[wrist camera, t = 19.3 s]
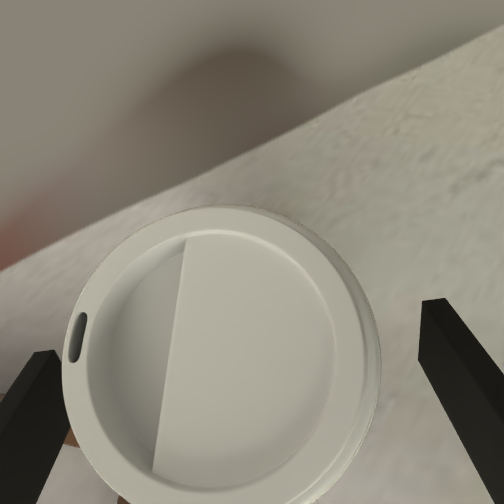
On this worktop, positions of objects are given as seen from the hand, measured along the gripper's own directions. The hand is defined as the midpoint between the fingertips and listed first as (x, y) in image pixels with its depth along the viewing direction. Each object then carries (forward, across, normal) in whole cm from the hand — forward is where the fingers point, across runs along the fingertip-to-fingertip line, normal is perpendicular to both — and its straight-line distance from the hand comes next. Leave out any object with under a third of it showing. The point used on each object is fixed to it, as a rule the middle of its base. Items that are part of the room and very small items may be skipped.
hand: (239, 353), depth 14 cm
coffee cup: (+8, 0, -8) cm, 11 cm away
